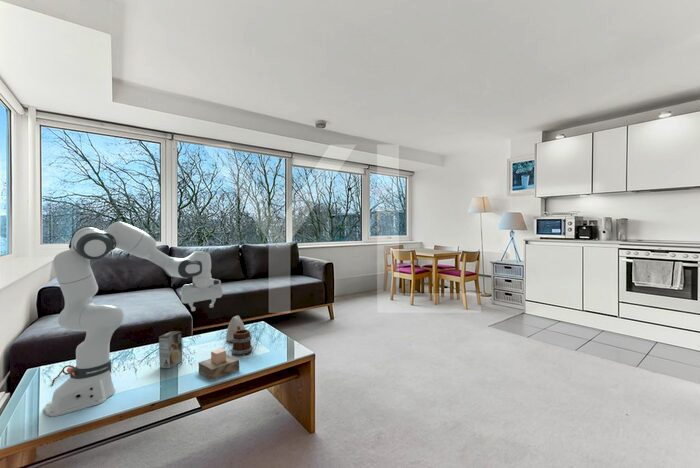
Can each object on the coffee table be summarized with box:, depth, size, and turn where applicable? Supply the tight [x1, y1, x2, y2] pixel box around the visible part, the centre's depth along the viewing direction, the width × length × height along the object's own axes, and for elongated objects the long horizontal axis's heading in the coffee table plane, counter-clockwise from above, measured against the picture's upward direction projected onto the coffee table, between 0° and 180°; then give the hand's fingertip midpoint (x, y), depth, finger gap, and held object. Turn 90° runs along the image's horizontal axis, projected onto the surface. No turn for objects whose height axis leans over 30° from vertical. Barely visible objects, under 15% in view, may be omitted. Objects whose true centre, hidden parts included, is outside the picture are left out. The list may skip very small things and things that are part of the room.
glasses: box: [50, 364, 75, 387], centre depth 155 cm, size 13×13×5 cm
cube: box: [210, 348, 227, 364], centre depth 159 cm, size 5×5×5 cm
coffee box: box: [158, 330, 183, 369], centre depth 168 cm, size 9×6×16 cm
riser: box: [198, 353, 240, 381], centre depth 159 cm, size 14×13×5 cm
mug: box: [230, 326, 254, 357], centre depth 184 cm, size 12×14×15 cm
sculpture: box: [225, 315, 246, 343], centre depth 205 cm, size 13×12×15 cm
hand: (202, 309), depth 166 cm, fingers open, 8 cm apart
